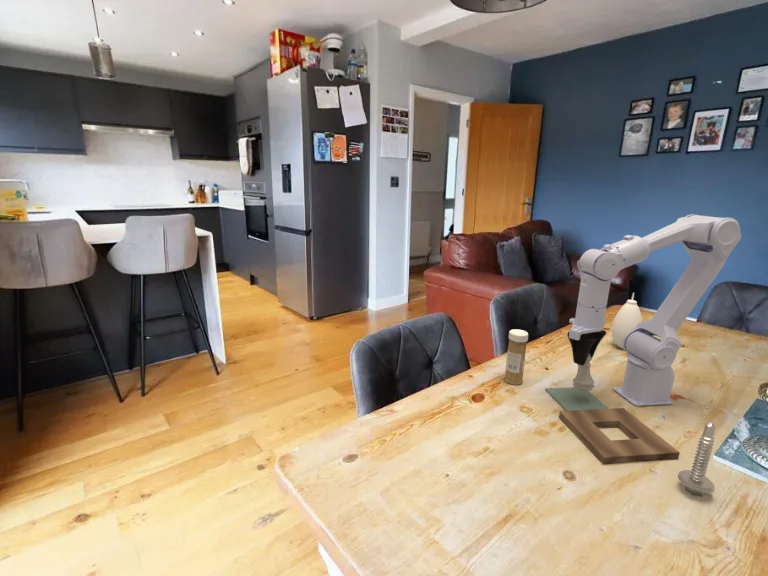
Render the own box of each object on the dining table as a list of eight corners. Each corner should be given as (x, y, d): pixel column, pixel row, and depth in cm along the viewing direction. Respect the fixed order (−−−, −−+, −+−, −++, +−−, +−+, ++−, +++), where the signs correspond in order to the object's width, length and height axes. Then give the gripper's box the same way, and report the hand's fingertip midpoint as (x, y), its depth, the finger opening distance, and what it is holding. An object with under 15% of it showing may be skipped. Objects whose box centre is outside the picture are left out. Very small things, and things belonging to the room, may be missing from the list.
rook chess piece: (568, 386, 93) (569, 353, 92) (580, 381, 95) (581, 349, 94) (586, 393, 89) (587, 358, 88) (598, 387, 92) (599, 354, 90)
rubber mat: (583, 388, 100) (583, 386, 100) (609, 410, 90) (610, 409, 90) (545, 389, 98) (545, 388, 98) (567, 412, 89) (568, 411, 89)
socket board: (622, 413, 89) (623, 407, 89) (678, 459, 75) (679, 452, 74) (558, 417, 87) (559, 411, 87) (603, 464, 73) (604, 457, 72)
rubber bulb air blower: (610, 340, 130) (620, 287, 126) (638, 346, 126) (650, 291, 121) (607, 348, 124) (617, 292, 120) (636, 355, 120) (648, 297, 115)
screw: (674, 492, 67) (676, 476, 70) (711, 507, 64) (711, 489, 67) (691, 423, 63) (693, 410, 67) (731, 435, 60) (731, 421, 64)
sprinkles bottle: (526, 382, 102) (532, 333, 98) (514, 387, 99) (520, 336, 96) (511, 375, 106) (517, 327, 102) (500, 379, 103) (505, 330, 100)
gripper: (586, 294, 96) (578, 347, 99) (558, 306, 86) (550, 364, 90) (618, 301, 91) (608, 357, 94) (592, 314, 81) (582, 375, 85)
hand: (582, 361), depth 92 cm, fingers closed on rook chess piece, 3 cm apart
